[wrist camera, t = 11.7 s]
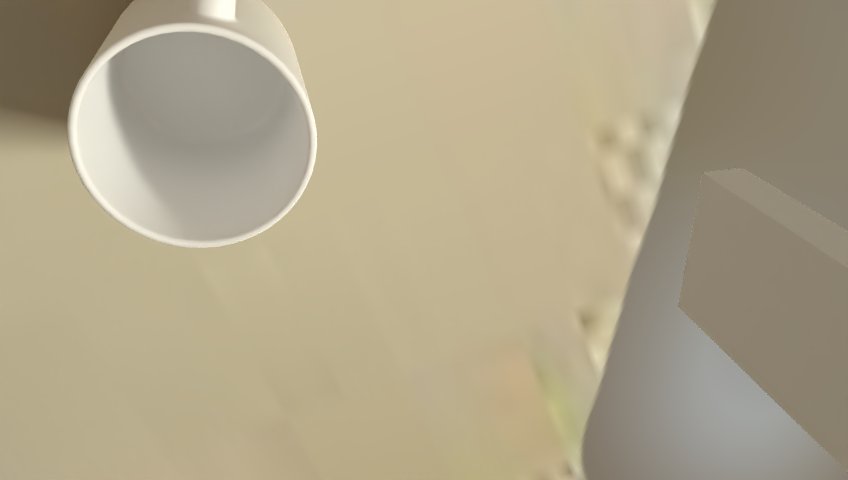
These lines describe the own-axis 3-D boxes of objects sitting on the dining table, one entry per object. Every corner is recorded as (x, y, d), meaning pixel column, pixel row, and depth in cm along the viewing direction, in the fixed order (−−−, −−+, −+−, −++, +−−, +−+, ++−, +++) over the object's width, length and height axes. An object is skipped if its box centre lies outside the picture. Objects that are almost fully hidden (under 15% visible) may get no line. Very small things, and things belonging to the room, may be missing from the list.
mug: (120, -143, 29) (72, -136, 20) (322, -93, 32) (357, -68, 23) (106, 135, 34) (63, 237, 25) (282, 159, 37) (297, 259, 28)
